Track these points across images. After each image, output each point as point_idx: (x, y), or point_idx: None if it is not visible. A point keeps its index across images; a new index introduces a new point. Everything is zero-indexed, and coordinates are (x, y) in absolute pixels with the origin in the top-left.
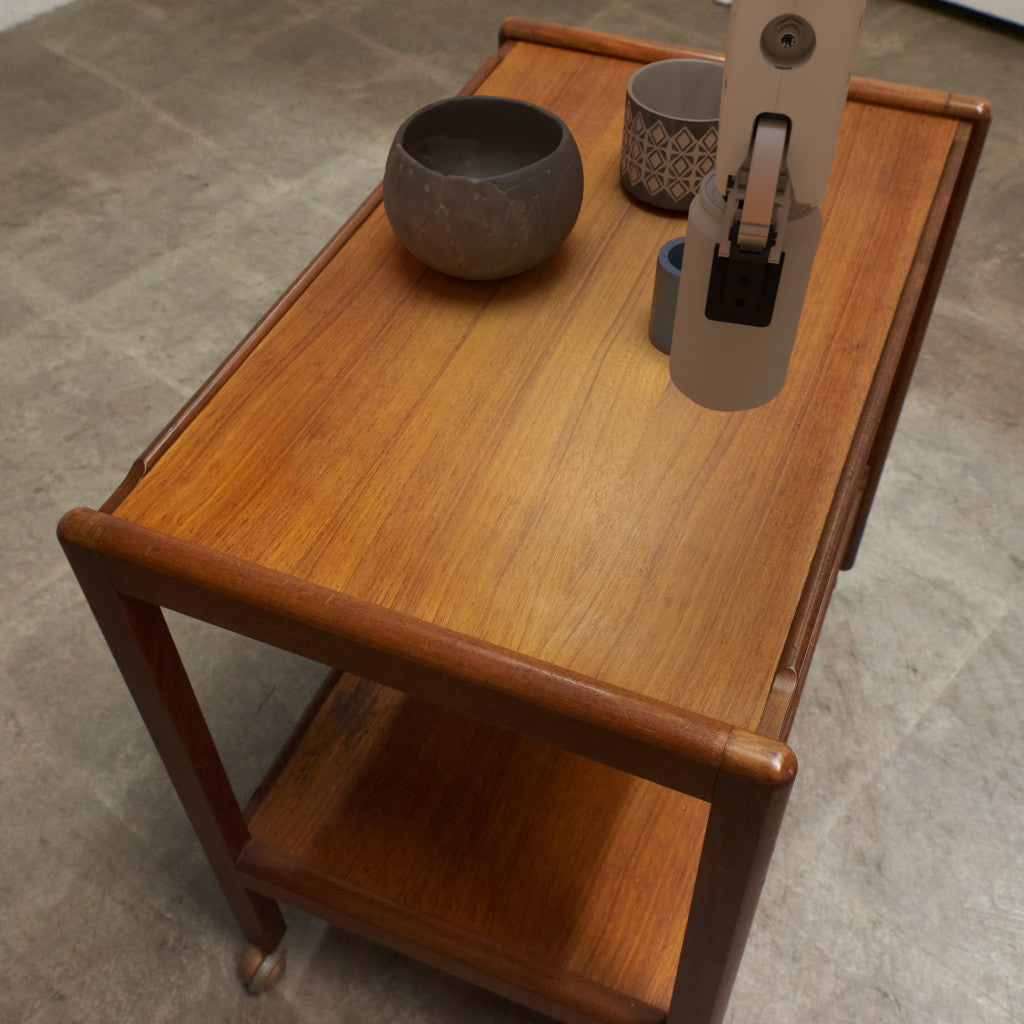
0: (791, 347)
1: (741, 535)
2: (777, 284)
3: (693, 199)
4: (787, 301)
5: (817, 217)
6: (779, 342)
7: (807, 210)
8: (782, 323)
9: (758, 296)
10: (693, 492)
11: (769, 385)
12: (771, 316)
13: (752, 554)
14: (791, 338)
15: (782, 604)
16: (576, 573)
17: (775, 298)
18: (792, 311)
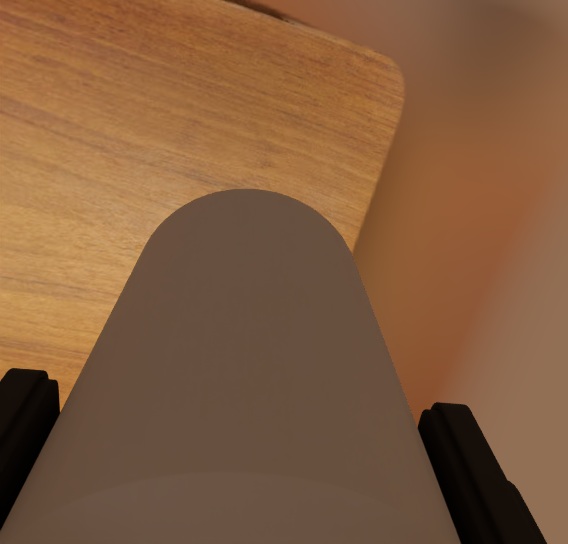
0: (300, 239)
1: (151, 78)
2: (524, 517)
3: None
4: (390, 378)
5: (288, 536)
6: (362, 300)
7: None
8: (374, 334)
9: (544, 539)
10: (92, 138)
11: (343, 247)
12: (474, 423)
13: (179, 64)
14: (318, 261)
15: (252, 29)
16: None
17: (500, 470)
18: (357, 328)
